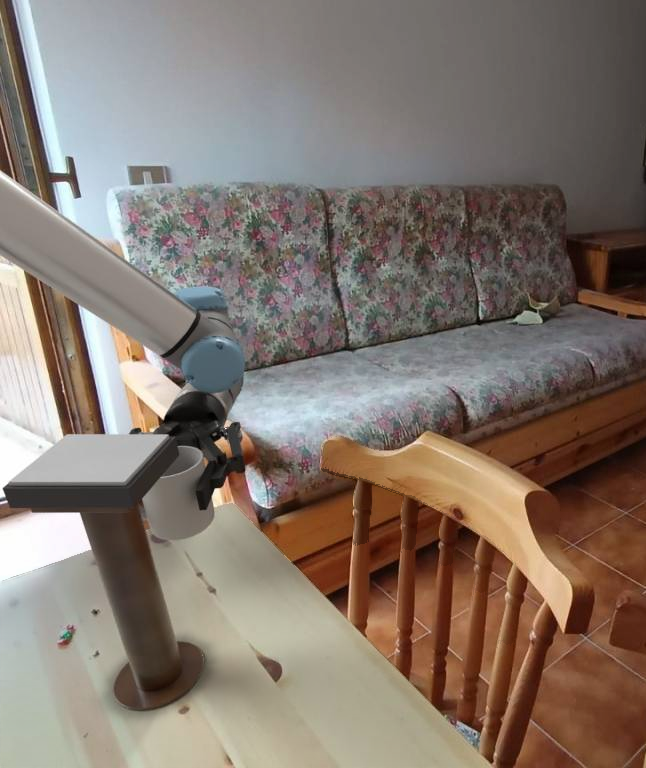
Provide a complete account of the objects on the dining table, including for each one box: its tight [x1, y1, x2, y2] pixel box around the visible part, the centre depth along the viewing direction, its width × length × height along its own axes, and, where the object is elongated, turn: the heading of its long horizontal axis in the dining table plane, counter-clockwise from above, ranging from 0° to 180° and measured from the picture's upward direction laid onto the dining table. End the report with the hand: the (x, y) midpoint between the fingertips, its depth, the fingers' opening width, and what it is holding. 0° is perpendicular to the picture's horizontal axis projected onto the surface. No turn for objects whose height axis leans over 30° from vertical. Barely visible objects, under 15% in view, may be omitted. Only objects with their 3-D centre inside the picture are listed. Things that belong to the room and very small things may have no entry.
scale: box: [2, 433, 180, 509], centre depth 55 cm, size 10×8×2 cm
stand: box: [30, 503, 205, 712], centre depth 61 cm, size 8×8×25 cm
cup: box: [139, 446, 215, 541], centre depth 75 cm, size 7×10×9 cm
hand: (150, 504), depth 71 cm, fingers closed on cup, 10 cm apart
